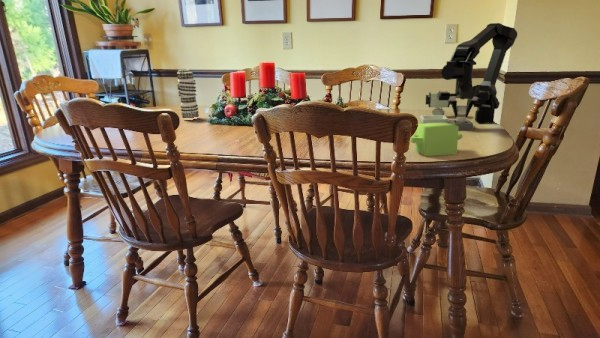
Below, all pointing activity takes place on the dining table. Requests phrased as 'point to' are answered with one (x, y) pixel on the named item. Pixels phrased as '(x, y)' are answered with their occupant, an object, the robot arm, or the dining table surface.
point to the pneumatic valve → (436, 103)
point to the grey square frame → (463, 125)
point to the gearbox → (436, 139)
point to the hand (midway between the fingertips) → (461, 117)
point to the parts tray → (433, 119)
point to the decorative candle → (187, 93)
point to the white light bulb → (461, 114)
